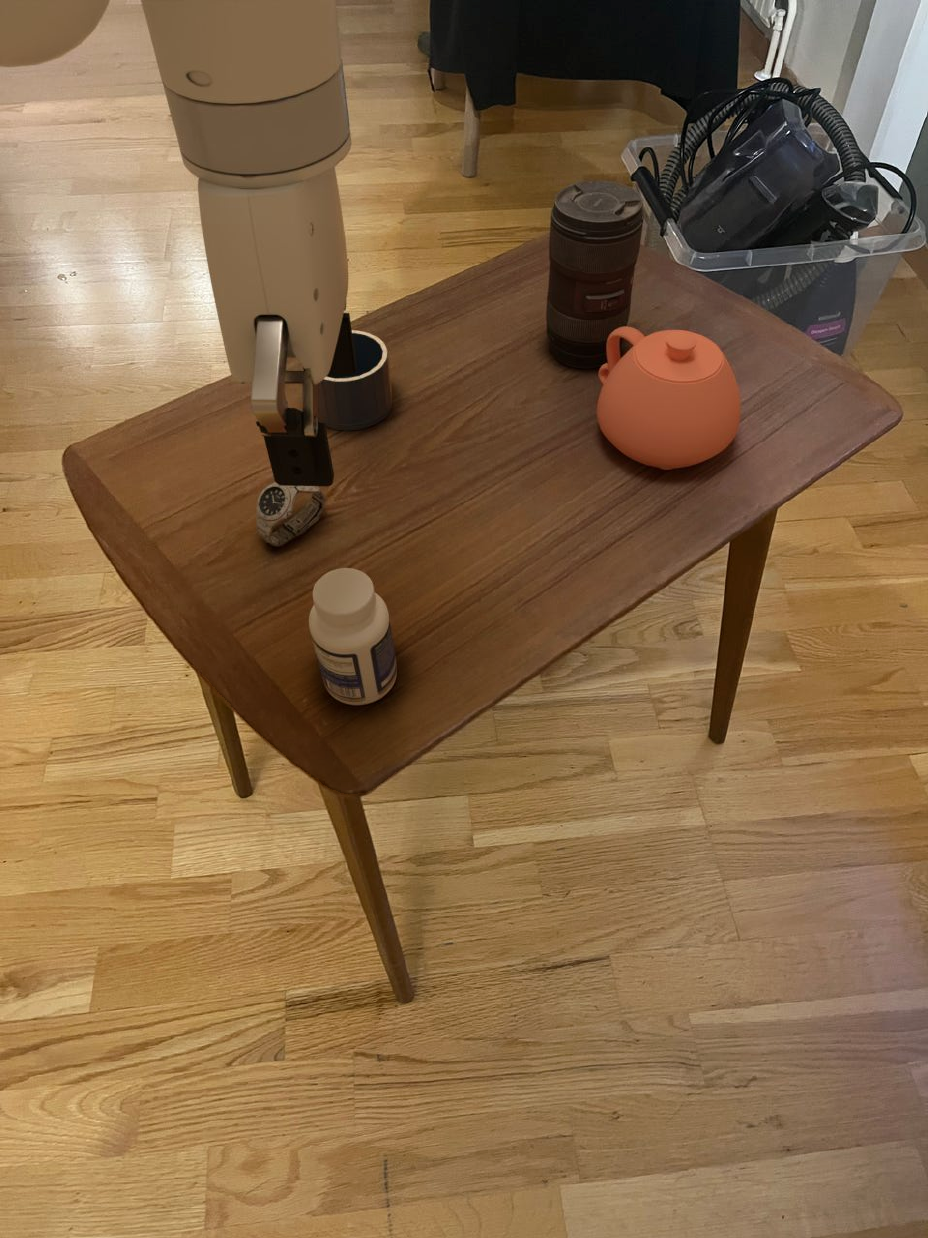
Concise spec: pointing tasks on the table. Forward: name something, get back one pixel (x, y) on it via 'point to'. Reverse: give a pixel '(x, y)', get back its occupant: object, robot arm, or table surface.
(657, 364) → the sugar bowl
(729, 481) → the table surface
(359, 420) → the cup
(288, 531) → the wristwatch
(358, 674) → the pill bottle
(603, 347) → the camera lens
